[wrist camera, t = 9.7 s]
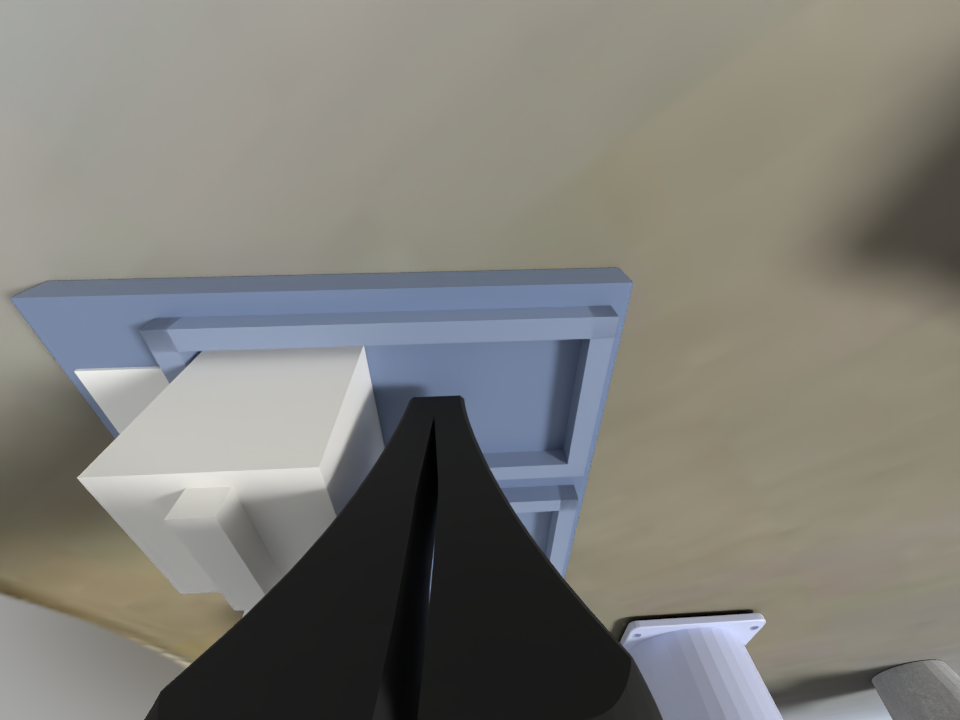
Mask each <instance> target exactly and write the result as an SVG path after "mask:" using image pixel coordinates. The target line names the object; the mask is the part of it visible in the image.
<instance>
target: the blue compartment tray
mask: <svg viewBox="0 0 960 720" xmlns="http://www.w3.org/2000/svg"><path fill="white" fill-rule="evenodd" d="M632 287H633V282H632V281H631V280H630V278H629V277H628V276H627V275H626V274H625V273H624V272H623V271H622V270H621V269H620V268H583V269H540V270H497V271H454V272H411V273H367V274H324V275H281V276H238V277H194V278H151V279H108V280H65V281H46V282H44V283H42V284H40V285H37V286H35V287H33V288H31V289H29V290H26V291H24V292H22V293H20V294H18V295H15V296H13V297H11V298H10V299H11V301H12V302H13V304H14V305H15V306H16V308H17V309H18V310H19V312H20V313H21V314H22V316H23V317H24V318H25V320H26V321H27V322H28V324H29V325H30V326H31V328H32V329H33V330H34V332H35V333H36V334H37V336H38V337H39V338H40V340H41V341H42V342H43V344H44V345H45V346H46V348H47V349H48V350H49V352H50V353H51V354H52V356H53V357H54V358H55V360H56V361H57V362H58V364H59V365H60V366H61V368H62V369H63V370H64V372H65V373H66V374H67V376H68V377H69V379H70V380H71V381H72V383H73V384H74V385H75V387H76V388H77V389H78V391H79V392H80V393H81V395H82V396H83V397H84V399H85V400H86V401H87V403H88V404H89V405H90V407H91V408H92V409H93V411H94V412H95V413H96V415H97V416H98V417H99V419H100V420H101V421H102V423H103V424H104V425H105V427H106V428H107V429H108V431H109V432H110V433H111V435H112V436H113V437H114V439H116V438H117V437H118V436H119V435H120V434H121V433H122V432H123V431H124V430H125V429H126V428H127V427H128V426H129V425H130V424H131V423H132V422H133V421H134V420H135V419H136V418H137V417H138V416H139V415H140V414H141V413H142V412H143V411H144V409H145V408H146V407H147V406H148V405H149V404H150V403H151V402H152V401H153V400H154V399H155V398H156V397H157V396H158V395H159V394H160V393H161V392H162V391H163V390H164V389H165V388H166V387H167V386H168V385H169V384H170V383H171V382H172V381H173V380H174V379H175V378H176V377H177V376H178V375H179V374H180V373H181V372H182V371H183V370H184V369H185V368H186V367H187V366H188V365H189V364H190V363H191V362H192V361H193V360H194V359H195V358H196V357H197V356H198V355H199V354H200V353H201V352H202V351H213V350H245V349H278V348H310V347H342V346H364V348H365V353H366V358H367V363H368V368H369V373H370V378H371V383H372V388H373V393H374V398H375V402H376V407H377V412H378V417H379V422H380V427H381V432H382V437H383V442H384V447H386V445H387V444H388V442H389V440H390V439H391V437H392V435H393V433H394V431H395V430H396V428H397V426H398V424H399V422H400V420H401V418H402V416H403V414H404V412H405V410H406V408H407V405H408V403H409V401H410V400H411V399H412V398H413V397H431V396H457V395H460V396H461V397H463V398H464V400H465V407H466V411H467V415H468V418H469V422H470V424H471V427H472V430H473V433H474V435H475V438H476V440H477V442H478V444H479V447H480V449H481V451H482V453H483V455H484V458H485V460H486V462H487V464H488V466H489V468H490V470H491V472H492V473H493V475H494V477H495V479H496V481H497V483H498V484H499V486H500V488H501V490H502V491H503V493H504V495H505V497H506V498H507V500H508V502H509V503H510V505H511V506H512V508H513V509H514V511H515V513H516V514H517V516H518V517H519V519H520V520H521V522H522V523H523V525H524V526H525V528H526V529H527V531H528V532H529V533H530V535H531V536H532V538H533V539H534V541H535V542H536V543H537V545H538V546H539V547H540V549H541V550H542V551H543V552H544V554H545V555H546V556H547V558H548V559H549V560H550V562H551V563H552V564H553V565H554V567H555V568H556V569H557V571H558V572H559V573H560V575H561V576H562V577H563V579H564V578H565V574H566V570H567V565H568V561H569V557H570V552H571V548H572V544H573V540H574V535H575V531H576V527H577V522H578V518H579V514H580V510H581V505H582V501H583V497H584V492H585V488H586V484H587V480H588V475H589V471H590V467H591V462H592V458H593V454H594V450H595V445H596V441H597V437H598V432H599V428H600V424H601V420H602V415H603V411H604V407H605V402H606V398H607V394H608V390H609V385H610V381H611V377H612V372H613V368H614V364H615V360H616V355H617V351H618V347H619V342H620V338H621V334H622V330H623V325H624V321H625V317H626V312H627V308H628V304H629V300H630V295H631V291H632ZM434 544H435V543H434ZM433 557H434V551H433ZM432 570H433V560H432V568H431V580H430V592H431V581H432ZM429 603H430V596H429ZM244 611H245V610H243V612H244Z"/></svg>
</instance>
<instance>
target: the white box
mask: <svg viewBox="0 0 960 720" xmlns="http://www.w3.org/2000/svg"><path fill="white" fill-rule="evenodd" d="M384 449H385V447H384V442H383V437H382V432H381V427H380V422H379V417H378V412H377V407H376V402H375V398H374V393H373V388H372V383H371V378H370V373H369V368H368V363H367V358H366V353H365V348H364V346H342V347H310V348H278V349H245V350H213V351H202V352H201V353H200V354H199V355H198V356H197V357H196V358H195V359H194V360H193V361H192V362H191V363H190V364H189V365H188V366H187V367H186V368H185V369H184V370H183V371H182V372H181V373H180V374H179V375H178V376H177V377H176V378H175V379H174V380H173V381H172V382H171V383H170V384H169V385H168V386H167V387H166V388H165V389H164V390H163V391H162V392H161V393H160V394H159V395H158V396H157V397H156V398H155V399H154V400H153V401H152V402H151V403H150V404H149V405H148V406H147V407H146V408H145V409H144V411H143V412H142V413H141V414H140V415H139V416H138V417H137V418H136V419H135V420H134V421H133V422H132V423H131V424H130V425H129V426H128V427H127V428H126V429H125V430H124V431H123V432H122V433H121V434H120V435H119V436H118V437H117V438H116V439H115V440H114V441H113V442H112V443H111V444H110V445H109V446H108V447H107V448H106V449H105V450H104V451H103V452H102V453H101V454H100V455H99V456H98V457H97V458H96V459H95V460H94V461H93V462H92V463H91V464H90V465H89V466H88V467H87V468H86V469H85V470H84V471H83V472H82V473H81V474H80V475H79V476H78V477H77V479H78V480H79V481H80V482H81V483H82V484H83V485H84V487H85V488H86V489H87V490H88V491H89V492H90V493H91V494H92V495H93V497H94V498H95V499H96V500H97V501H98V502H99V503H100V504H101V506H102V507H103V508H104V509H105V510H106V511H107V512H108V513H109V514H110V516H111V517H112V518H113V519H114V520H115V521H116V522H117V523H118V525H119V526H120V527H121V528H122V529H123V530H124V531H125V532H126V533H127V535H128V536H129V537H130V538H131V539H132V540H133V541H134V542H135V544H136V545H137V546H138V547H139V548H140V549H141V550H142V551H143V552H144V554H145V555H146V556H147V557H148V558H149V559H150V560H151V561H152V563H153V564H154V565H155V566H156V567H157V568H158V569H159V570H160V572H161V573H162V574H163V575H164V576H165V577H166V578H167V579H168V580H169V582H170V583H171V584H172V585H173V586H174V587H175V588H176V589H177V591H178V592H179V593H180V594H193V593H210V592H221V594H222V595H223V596H224V598H225V599H226V600H227V601H228V603H229V604H230V605H231V607H232V608H233V609H234V610H235V611H239V610H251V609H252V608H253V607H254V606H255V605H256V604H257V603H258V602H259V601H260V600H261V599H262V598H263V597H264V596H265V595H266V594H267V593H268V592H269V591H270V590H271V589H272V588H273V587H274V586H275V585H276V584H277V583H278V582H279V581H280V580H281V579H282V578H283V577H284V576H285V575H286V574H287V573H288V572H289V571H290V570H291V569H292V568H293V566H294V565H295V564H296V563H297V562H298V561H299V560H300V559H301V558H302V557H303V556H304V555H305V553H306V552H307V551H308V550H309V549H310V548H311V546H312V545H313V544H314V543H315V542H316V541H317V540H318V538H319V537H320V536H321V535H322V534H323V533H324V532H325V530H326V529H327V528H328V527H329V526H330V524H331V523H332V522H333V521H334V520H335V518H336V517H337V516H338V515H339V513H340V512H341V511H342V510H343V508H344V507H345V506H346V504H347V503H348V502H349V500H350V499H351V498H352V496H353V495H354V494H355V492H356V491H357V490H358V488H359V487H360V485H361V484H362V482H363V481H364V479H365V478H366V476H367V475H368V473H369V472H370V471H371V469H372V468H373V466H374V465H375V463H376V462H377V460H378V458H379V457H380V455H381V454H382V452H383V450H384Z"/></svg>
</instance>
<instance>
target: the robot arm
mask: <svg viewBox="0 0 960 720" xmlns="http://www.w3.org/2000/svg"><path fill="white" fill-rule="evenodd" d="M434 543H435V544H434ZM433 551H434V557H433ZM432 560H433V570H432V581H431V592H430V580H431V568H432ZM429 596H430V603H429ZM765 623H766V620H765V619H764V617H763V615H762V614H760V613H749V614H733V615H717V616H701V617H685V618H670V619H654V620H638V621H633V622H631V623H629V624H628V626H627V628H626V630H625V632H624V634H623V636H622V638H621V641H620V643H619V641H618V640H617V639H616V638H615V637H614V636H613V635H612V634H611V633H610V632H609V631H608V630H607V629H606V627H605V626H604V625H603V624H602V623H601V622H600V621H599V620H598V618H597V617H596V616H595V615H594V614H593V613H592V612H591V611H590V609H589V608H588V607H587V606H586V605H585V604H584V602H583V601H582V600H581V599H580V598H579V596H578V595H577V594H576V593H575V592H574V591H573V589H572V588H571V587H570V586H569V585H568V583H567V582H566V581H565V580H564V579H563V577H562V576H561V575H560V573H559V572H558V571H557V569H556V568H555V567H554V565H553V564H552V563H551V562H550V560H549V559H548V558H547V556H546V555H545V554H544V552H543V551H542V550H541V549H540V547H539V546H538V545H537V543H536V542H535V541H534V539H533V538H532V536H531V535H530V533H529V532H528V531H527V529H526V528H525V526H524V525H523V523H522V522H521V520H520V519H519V517H518V516H517V514H516V513H515V511H514V509H513V508H512V506H511V505H510V503H509V502H508V500H507V498H506V497H505V495H504V493H503V491H502V490H501V488H500V486H499V484H498V483H497V481H496V479H495V477H494V475H493V473H492V472H491V470H490V468H489V466H488V464H487V462H486V460H485V458H484V455H483V453H482V451H481V449H480V447H479V444H478V442H477V440H476V438H475V435H474V433H473V430H472V427H471V424H470V422H469V418H468V415H467V411H466V407H465V400H464V398H463V397H461V396H460V395H457V396H431V397H413V398H412V399H411V400H410V401H409V403H408V405H407V408H406V410H405V412H404V414H403V416H402V418H401V420H400V422H399V424H398V426H397V428H396V430H395V431H394V433H393V435H392V437H391V439H390V440H389V442H388V444H387V445H386V447H385V449H384V450H383V452H382V454H381V455H380V457H379V458H378V460H377V462H376V463H375V465H374V466H373V468H372V469H371V471H370V472H369V473H368V475H367V476H366V478H365V479H364V481H363V482H362V484H361V485H360V487H359V488H358V490H357V491H356V492H355V494H354V495H353V496H352V498H351V499H350V500H349V502H348V503H347V504H346V506H345V507H344V508H343V510H342V511H341V512H340V513H339V515H338V516H337V517H336V518H335V520H334V521H333V522H332V523H331V524H330V526H329V527H328V528H327V529H326V530H325V532H324V533H323V534H322V535H321V536H320V537H319V538H318V540H317V541H316V542H315V543H314V544H313V545H312V546H311V548H310V549H309V550H308V551H307V552H306V553H305V555H304V556H303V557H302V558H301V559H300V560H299V561H298V562H297V563H296V564H295V565H294V566H293V568H292V569H291V570H290V571H289V572H288V573H287V574H286V575H285V576H284V577H283V578H282V579H281V580H280V581H279V582H278V583H277V584H276V585H275V586H274V587H273V588H272V589H271V590H270V591H269V592H268V593H267V594H266V595H265V596H264V597H263V598H262V599H261V600H260V601H259V602H258V603H257V604H256V605H255V606H254V607H253V608H252V609H251V610H250V611H249V612H248V613H247V614H246V615H245V616H244V617H243V618H242V619H241V620H239V621H238V622H237V623H236V624H235V625H234V626H233V627H232V628H231V629H230V630H229V631H228V632H227V633H225V634H224V635H223V636H222V637H221V638H220V639H219V640H218V641H217V642H215V643H214V644H213V645H212V646H211V647H210V648H209V649H208V650H206V651H205V652H204V653H203V654H202V655H201V656H200V657H199V658H198V659H196V660H195V661H194V662H193V663H192V664H191V665H190V666H189V667H187V668H186V669H185V670H184V671H183V672H182V673H181V674H180V675H179V676H177V677H176V678H175V679H174V680H173V681H172V682H171V683H170V684H168V685H167V686H166V687H165V688H164V689H163V690H162V691H161V692H160V694H159V696H158V698H157V699H156V701H155V703H154V705H153V707H152V708H151V710H150V711H149V713H148V715H147V716H146V718H145V719H144V720H783V718H782V716H781V714H780V712H779V710H778V709H777V707H776V705H775V703H774V701H773V699H772V697H771V695H770V693H769V691H768V690H767V688H766V686H765V684H764V682H763V680H762V678H761V676H760V674H759V672H758V671H757V669H756V667H755V665H754V663H753V661H752V659H751V657H750V655H749V654H748V652H747V650H746V648H745V645H746V644H747V643H748V642H749V641H750V640H751V638H752V637H753V636H754V635H755V634H756V633H757V632H758V631H759V630H760V629H761V628H762V626H763V625H764V624H765Z"/></svg>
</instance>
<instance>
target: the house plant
mask: <svg viewBox="0 0 960 720" xmlns="http://www.w3.org/2000/svg"><path fill="white" fill-rule="evenodd" d="M872 683H873V685H874V687H875V688H876V690H877V692H878V694H879V696H880V698H881V699H882V701H883V703H884V705H885V707H886V708H887V710H888V712H889V714H890V716H891V717H892V719H893V720H960V677H959V676H958V675H957V674H956V673H955V672H954V671H953V670H952V669H951V668H950V667H949V666H947V665H946V664H945V663H944V662H943V661H939V660H926V661H918V662H912V663H908V664H904V665H900V666H897V667H894V668H891V669H888V670H886V671H883V672H881V673H879V674H878V675H876V676H875V677H873V679H872Z"/></svg>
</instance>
